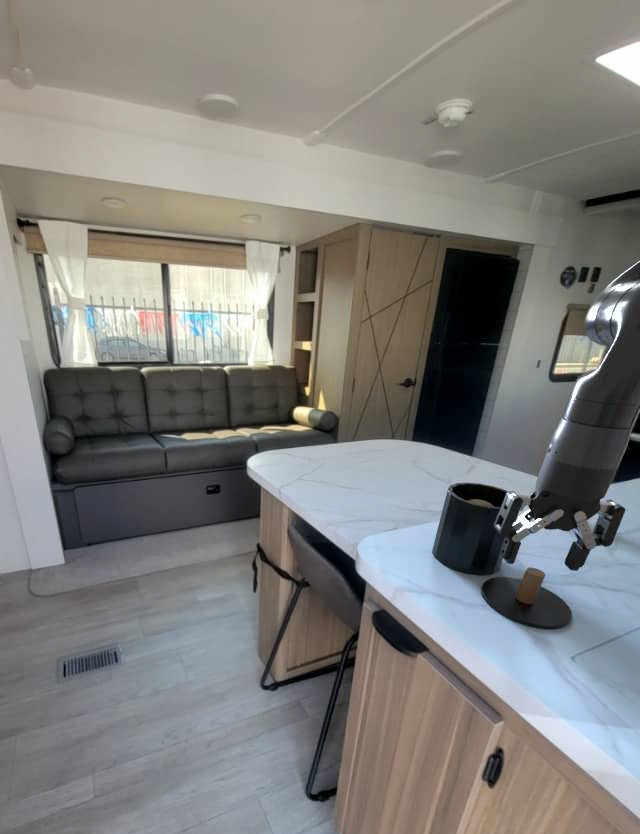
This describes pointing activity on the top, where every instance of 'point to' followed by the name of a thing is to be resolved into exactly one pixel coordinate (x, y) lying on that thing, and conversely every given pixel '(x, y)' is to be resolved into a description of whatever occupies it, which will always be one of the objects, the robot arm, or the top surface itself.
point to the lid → (527, 600)
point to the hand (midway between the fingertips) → (538, 564)
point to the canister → (470, 530)
